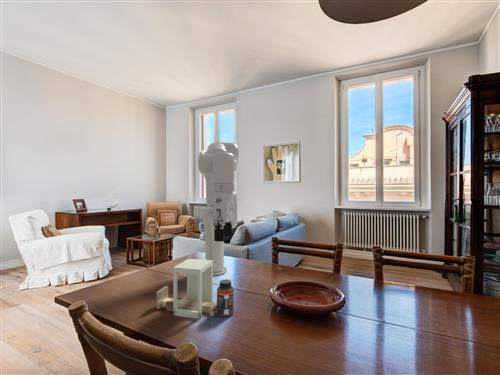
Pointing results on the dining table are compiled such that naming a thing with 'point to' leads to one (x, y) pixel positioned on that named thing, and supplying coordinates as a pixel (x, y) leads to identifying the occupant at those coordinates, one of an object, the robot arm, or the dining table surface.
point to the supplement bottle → (225, 298)
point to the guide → (170, 305)
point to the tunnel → (194, 285)
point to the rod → (184, 303)
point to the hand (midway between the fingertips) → (223, 238)
